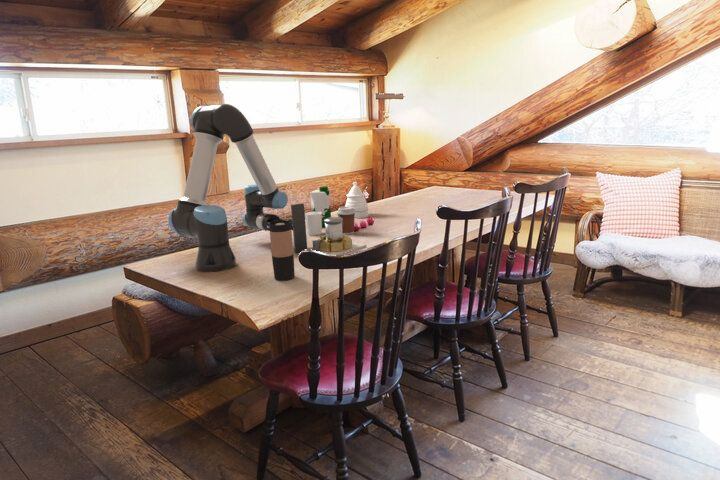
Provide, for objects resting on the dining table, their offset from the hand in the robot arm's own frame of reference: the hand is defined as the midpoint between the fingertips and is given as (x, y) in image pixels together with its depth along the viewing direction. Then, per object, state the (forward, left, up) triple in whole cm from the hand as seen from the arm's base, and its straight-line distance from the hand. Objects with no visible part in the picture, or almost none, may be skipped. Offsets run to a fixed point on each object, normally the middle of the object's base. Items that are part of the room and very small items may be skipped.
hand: (303, 228), depth 217 cm
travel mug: (-26, -19, -11) cm, 33 cm away
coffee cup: (+35, +11, -11) cm, 39 cm away
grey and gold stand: (+7, -5, -9) cm, 13 cm away
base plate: (+11, -5, -10) cm, 16 cm away
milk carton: (+38, +32, -11) cm, 51 cm away
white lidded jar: (+11, -6, -10) cm, 16 cm away
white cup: (+25, +23, -11) cm, 36 cm away
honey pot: (+66, +35, -11) cm, 76 cm away
